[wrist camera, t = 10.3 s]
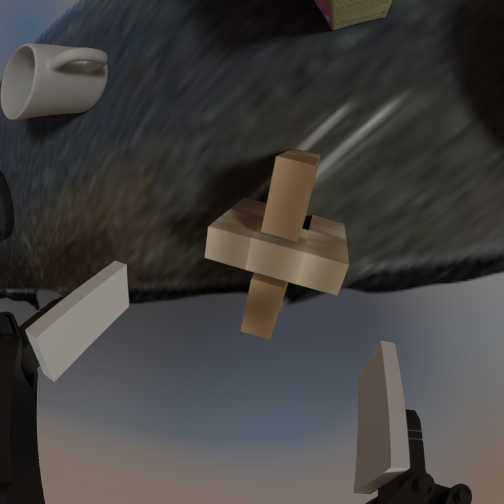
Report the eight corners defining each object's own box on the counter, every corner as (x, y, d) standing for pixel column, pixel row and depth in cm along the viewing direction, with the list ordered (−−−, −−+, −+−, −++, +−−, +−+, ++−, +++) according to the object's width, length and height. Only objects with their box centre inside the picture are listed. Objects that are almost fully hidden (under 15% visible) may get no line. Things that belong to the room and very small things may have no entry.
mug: (67, 120, 30) (1, 131, 20) (64, 65, 27) (0, 64, 17) (133, 92, 26) (58, 90, 17) (129, 29, 23) (60, 10, 14)
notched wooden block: (264, 279, 31) (240, 331, 23) (293, 148, 25) (276, 156, 17) (286, 285, 31) (269, 339, 23) (320, 154, 25) (316, 165, 17)
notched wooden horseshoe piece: (239, 221, 29) (204, 257, 21) (244, 197, 28) (208, 226, 20) (336, 247, 28) (337, 295, 20) (344, 223, 27) (348, 264, 19)
